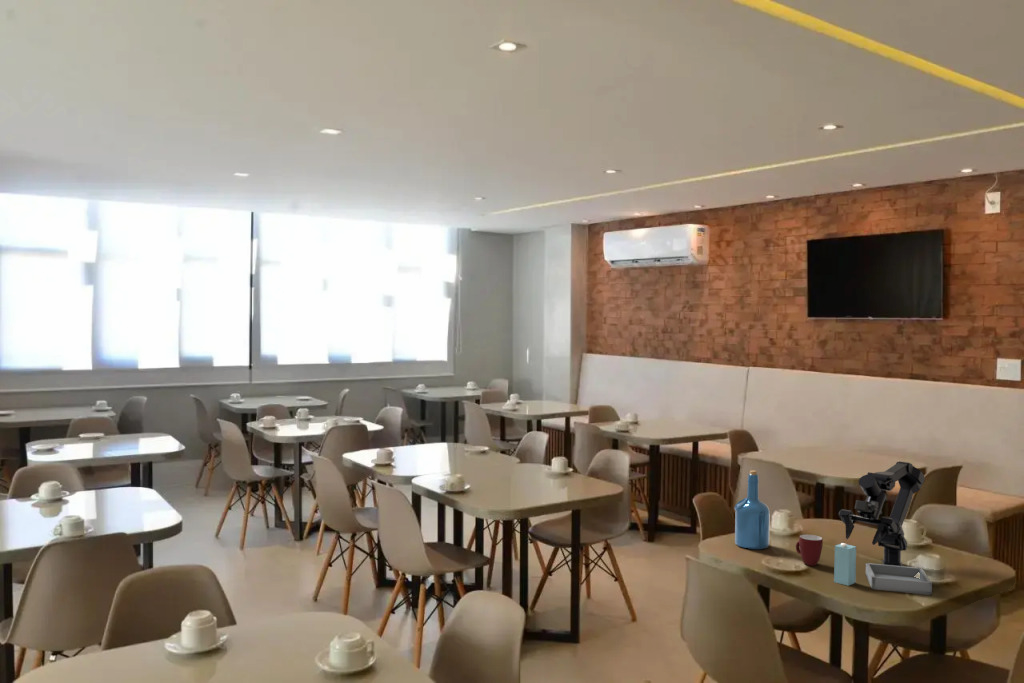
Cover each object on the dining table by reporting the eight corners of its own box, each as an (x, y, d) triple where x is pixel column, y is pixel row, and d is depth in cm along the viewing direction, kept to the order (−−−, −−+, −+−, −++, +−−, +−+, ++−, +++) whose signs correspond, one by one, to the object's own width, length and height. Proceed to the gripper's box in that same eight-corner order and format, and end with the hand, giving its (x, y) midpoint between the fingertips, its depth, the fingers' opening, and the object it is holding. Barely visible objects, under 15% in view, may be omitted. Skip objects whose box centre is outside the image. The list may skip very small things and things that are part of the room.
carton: (841, 579, 274) (842, 540, 274) (855, 582, 270) (856, 543, 270) (834, 581, 271) (834, 542, 271) (848, 585, 267) (848, 546, 267)
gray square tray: (865, 574, 280) (865, 562, 280) (921, 579, 275) (921, 568, 275) (871, 589, 264) (872, 577, 264) (931, 595, 259) (932, 583, 259)
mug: (788, 561, 294) (788, 535, 294) (801, 558, 299) (801, 532, 299) (813, 568, 286) (814, 541, 285) (826, 565, 290) (827, 538, 290)
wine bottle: (766, 542, 321) (767, 468, 320) (772, 551, 308) (773, 474, 307) (731, 540, 323) (732, 467, 322) (736, 549, 310) (737, 473, 309)
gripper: (840, 486, 285) (825, 523, 278) (893, 495, 271) (879, 534, 264) (850, 504, 290) (836, 540, 284) (903, 513, 276) (889, 552, 270)
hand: (859, 541), depth 275 cm, fingers open, 9 cm apart
